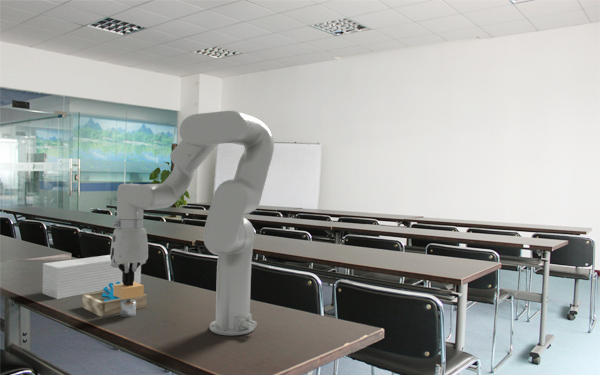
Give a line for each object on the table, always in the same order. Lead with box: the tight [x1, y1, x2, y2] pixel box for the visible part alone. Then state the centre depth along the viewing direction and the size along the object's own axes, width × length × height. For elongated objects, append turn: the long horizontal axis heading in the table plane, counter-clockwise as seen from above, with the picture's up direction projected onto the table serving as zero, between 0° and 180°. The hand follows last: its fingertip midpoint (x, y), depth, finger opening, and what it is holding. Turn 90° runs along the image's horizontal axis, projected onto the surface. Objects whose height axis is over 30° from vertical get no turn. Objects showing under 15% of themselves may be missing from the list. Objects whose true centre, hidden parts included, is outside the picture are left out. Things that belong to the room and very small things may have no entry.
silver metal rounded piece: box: [119, 298, 137, 318], centre depth 137 cm, size 4×4×6 cm
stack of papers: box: [42, 254, 142, 300], centre depth 168 cm, size 32×11×11 cm, turn 143°
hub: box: [113, 282, 145, 300], centre depth 137 cm, size 6×6×3 cm
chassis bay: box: [81, 289, 148, 318], centre depth 144 cm, size 13×15×4 cm
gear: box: [102, 281, 121, 301], centre depth 146 cm, size 11×6×10 cm
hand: (128, 284), depth 137 cm, fingers closed
